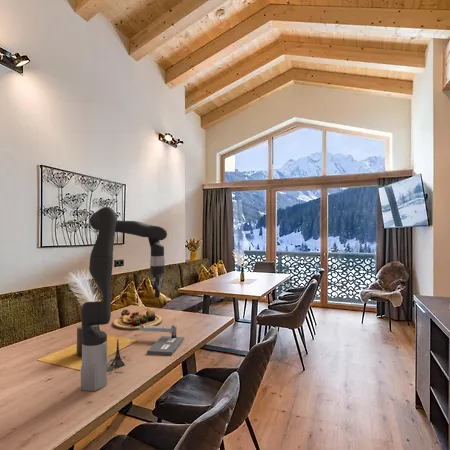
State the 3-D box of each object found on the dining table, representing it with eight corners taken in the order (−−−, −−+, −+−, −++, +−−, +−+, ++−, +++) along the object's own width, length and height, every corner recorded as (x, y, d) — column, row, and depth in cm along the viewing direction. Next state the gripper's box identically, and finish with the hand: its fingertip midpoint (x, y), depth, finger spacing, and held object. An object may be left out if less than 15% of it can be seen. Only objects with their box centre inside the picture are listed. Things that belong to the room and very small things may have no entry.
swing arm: (138, 336, 176) (138, 325, 176) (141, 334, 180) (141, 323, 180) (175, 338, 172) (175, 326, 173) (177, 336, 176) (177, 324, 177)
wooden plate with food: (105, 322, 210) (105, 310, 210) (148, 313, 231) (148, 302, 231) (125, 335, 186) (125, 321, 186) (171, 324, 207) (171, 311, 207)
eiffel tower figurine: (111, 359, 150) (111, 332, 150) (132, 359, 150) (132, 331, 150) (99, 374, 135) (99, 343, 135) (122, 374, 135) (123, 343, 135)
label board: (172, 355, 154) (172, 351, 154) (147, 353, 155) (147, 350, 155) (184, 339, 175) (184, 336, 175) (162, 338, 177) (162, 335, 177)
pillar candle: (89, 357, 151) (90, 326, 151) (72, 356, 153) (72, 325, 153) (101, 350, 160) (101, 321, 161) (84, 348, 162) (85, 320, 163)
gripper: (155, 263, 172) (155, 294, 172) (145, 265, 159) (145, 299, 159) (168, 263, 171) (168, 295, 170) (159, 266, 158) (159, 300, 157)
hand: (157, 297), depth 165 cm, fingers closed
